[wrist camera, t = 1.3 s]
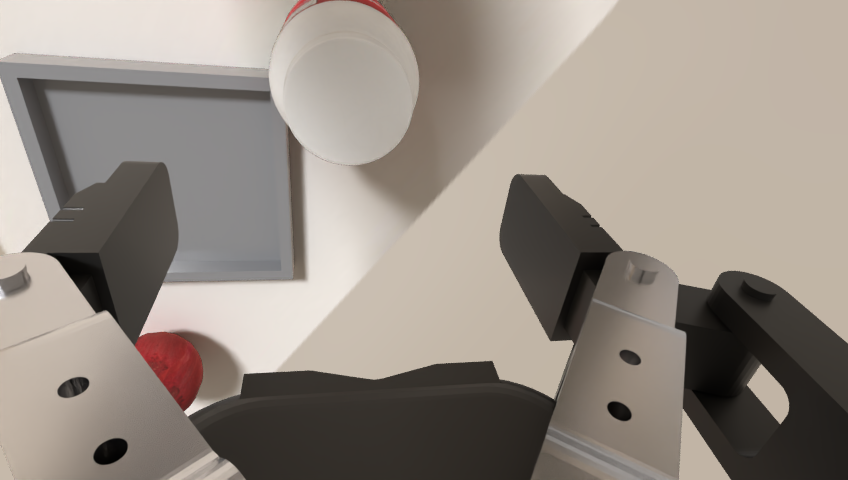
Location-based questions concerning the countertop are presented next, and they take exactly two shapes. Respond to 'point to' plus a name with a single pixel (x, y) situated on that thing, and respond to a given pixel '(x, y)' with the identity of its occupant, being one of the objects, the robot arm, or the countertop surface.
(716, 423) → the robot arm
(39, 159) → the slate dish
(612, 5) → the countertop surface
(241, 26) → the countertop surface
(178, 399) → the onion
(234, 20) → the countertop surface
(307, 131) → the pill bottle
